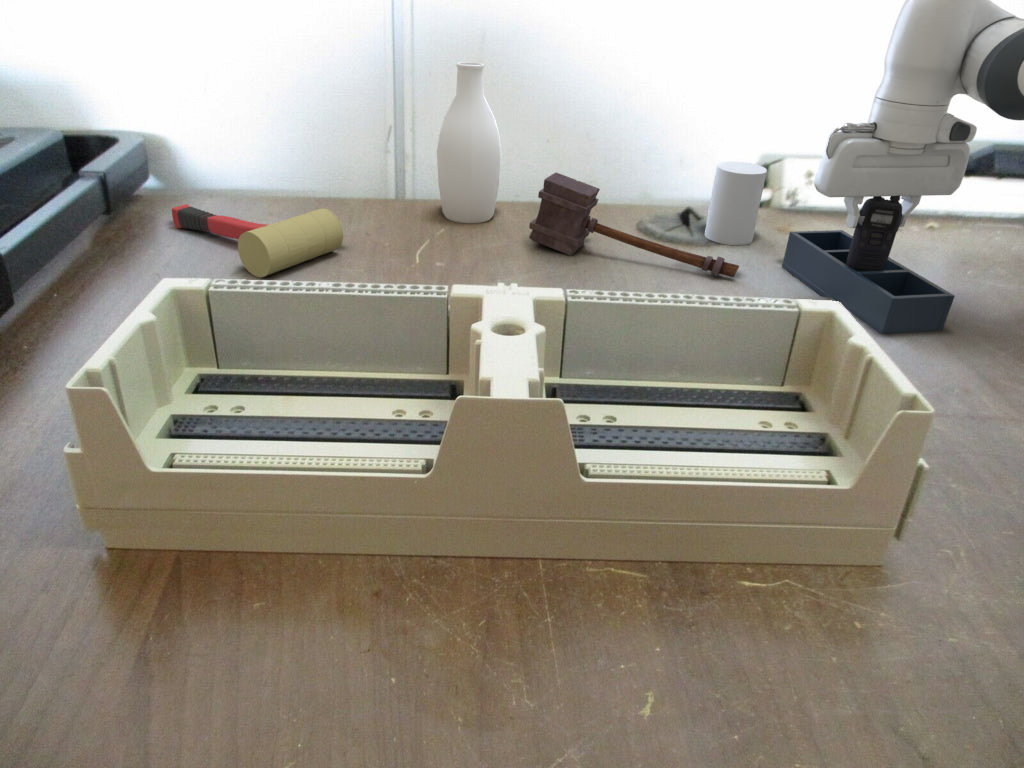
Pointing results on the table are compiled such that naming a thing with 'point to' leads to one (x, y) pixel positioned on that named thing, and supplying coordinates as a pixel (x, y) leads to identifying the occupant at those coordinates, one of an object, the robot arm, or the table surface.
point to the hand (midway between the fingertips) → (874, 226)
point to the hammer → (596, 225)
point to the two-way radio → (875, 234)
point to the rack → (867, 284)
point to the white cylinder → (735, 202)
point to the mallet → (269, 237)
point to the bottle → (469, 151)
